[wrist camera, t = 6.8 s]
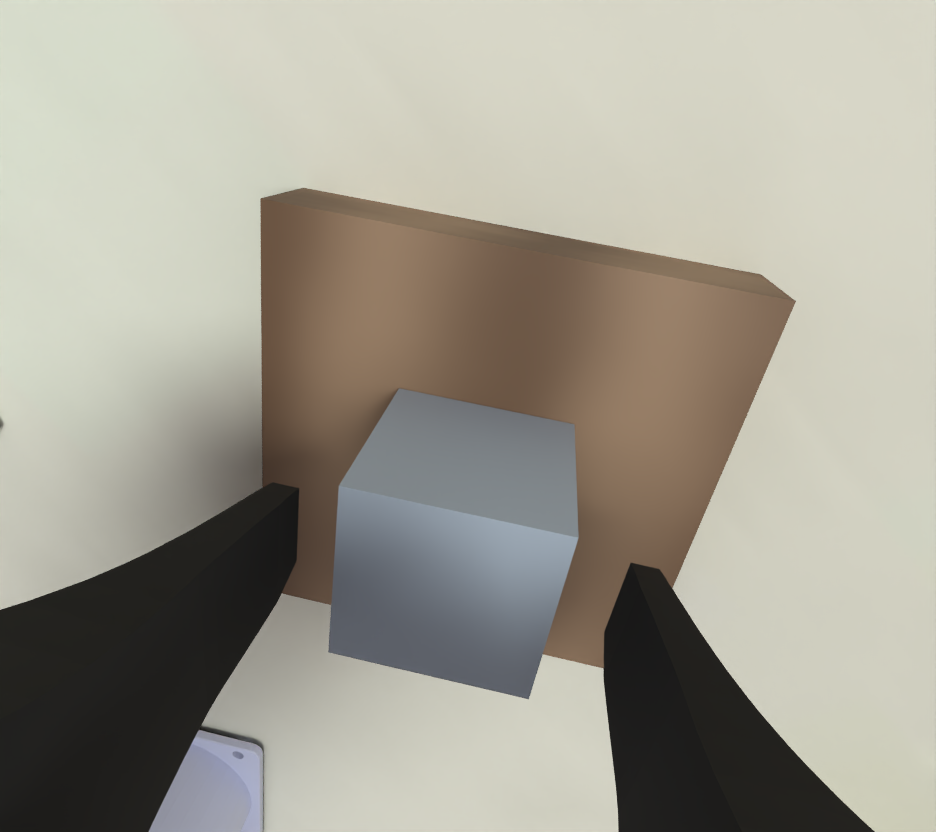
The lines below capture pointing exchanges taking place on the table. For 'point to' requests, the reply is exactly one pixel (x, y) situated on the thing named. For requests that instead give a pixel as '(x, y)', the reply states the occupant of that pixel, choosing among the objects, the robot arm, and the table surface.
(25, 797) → the robot arm
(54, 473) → the table surface
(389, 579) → the slate cube
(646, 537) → the walnut base
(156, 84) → the table surface
